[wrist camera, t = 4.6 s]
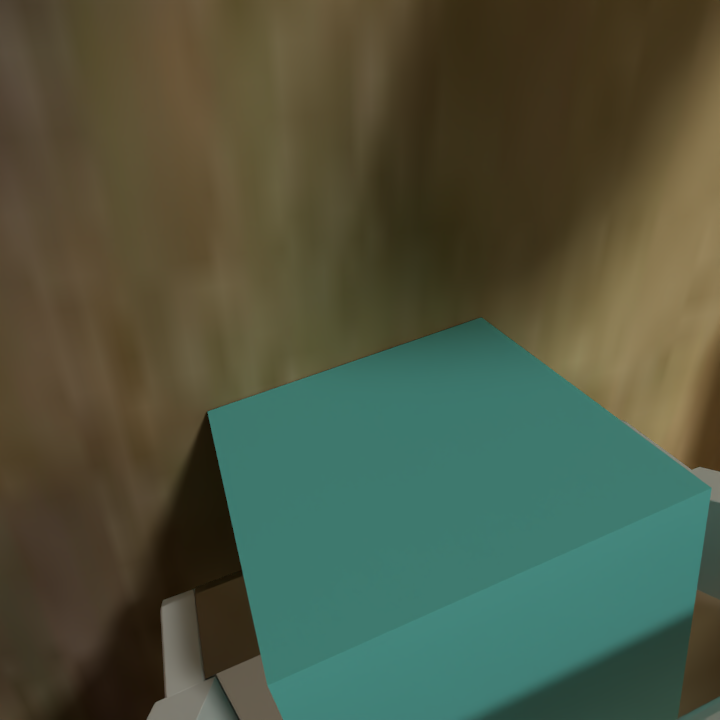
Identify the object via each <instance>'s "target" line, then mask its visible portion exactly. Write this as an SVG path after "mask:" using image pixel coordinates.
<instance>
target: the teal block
mask: <svg viewBox="0 0 720 720" xmlns="http://www.w3.org/2000/svg"><path fill="white" fill-rule="evenodd" d="M208 417H209V422H210V426H211V431H212V435H213V440H214V444H215V449H216V453H217V458H218V463H219V467H220V472H221V476H222V481H223V485H224V490H225V494H226V499H227V504H228V508H229V513H230V517H231V522H232V526H233V531H234V536H235V540H236V545H237V549H238V554H239V558H240V563H241V567H242V572H243V577H244V581H245V586H246V590H247V595H248V599H249V604H250V608H251V613H252V618H253V622H254V627H255V631H256V636H257V640H258V645H259V649H260V654H261V659H262V663H263V668H264V672H265V677H266V681H267V686H268V688H269V690H270V692H271V694H272V697H273V699H274V701H275V703H276V705H277V707H278V710H279V712H280V714H281V716H282V718H283V720H676V719H678V713H679V706H680V699H681V692H682V686H683V679H684V672H685V665H686V659H687V652H688V645H689V638H690V632H691V625H692V618H693V611H694V605H695V598H696V591H697V584H698V577H699V571H700V564H701V557H702V550H703V544H704V537H705V530H706V523H707V517H708V510H709V503H710V496H711V490H712V488H711V487H710V486H708V485H707V484H706V483H704V482H703V481H702V480H700V479H699V478H698V477H696V476H695V475H694V474H692V473H691V472H690V471H688V470H687V469H685V468H684V467H683V466H681V465H680V464H679V463H677V462H676V461H675V460H673V459H672V458H671V457H669V456H668V455H667V454H665V453H664V452H663V451H661V450H660V449H658V448H657V447H656V446H654V445H653V444H652V443H650V442H649V441H648V440H646V439H645V438H644V437H642V436H641V435H640V434H638V433H637V432H636V431H634V430H633V429H631V428H630V427H629V426H627V425H626V424H625V423H623V422H622V421H621V420H619V419H618V418H617V417H615V416H614V415H613V414H611V413H610V412H609V411H607V410H606V409H604V408H603V407H602V406H600V405H599V404H598V403H596V402H595V401H594V400H592V399H591V398H590V397H588V396H587V395H586V394H584V393H583V392H582V391H580V390H579V389H577V388H576V387H575V386H573V385H572V384H571V383H569V382H568V381H567V380H565V379H564V378H563V377H561V376H560V375H559V374H557V373H556V372H555V371H553V370H552V369H550V368H549V367H548V366H546V365H545V364H544V363H542V362H541V361H540V360H538V359H537V358H536V357H534V356H533V355H532V354H530V353H529V352H528V351H526V350H525V349H523V348H522V347H521V346H519V345H518V344H517V343H515V342H514V341H513V340H511V339H510V338H509V337H507V336H506V335H505V334H503V333H502V332H501V331H499V330H498V329H496V328H495V327H494V326H492V325H491V324H490V323H488V322H487V321H486V320H484V319H483V318H482V317H481V318H478V319H475V320H472V321H469V322H466V323H463V324H461V325H458V326H455V327H452V328H449V329H446V330H443V331H440V332H437V333H434V334H431V335H429V336H426V337H423V338H420V339H417V340H414V341H411V342H408V343H405V344H402V345H399V346H397V347H394V348H391V349H388V350H385V351H382V352H379V353H376V354H373V355H370V356H367V357H365V358H362V359H359V360H356V361H353V362H350V363H347V364H344V365H341V366H338V367H335V368H333V369H330V370H327V371H324V372H321V373H318V374H315V375H312V376H309V377H306V378H303V379H301V380H298V381H295V382H292V383H289V384H286V385H283V386H280V387H277V388H274V389H271V390H269V391H266V392H263V393H260V394H257V395H254V396H251V397H248V398H245V399H242V400H240V401H237V402H234V403H231V404H228V405H225V406H222V407H219V408H216V409H213V410H210V411H208Z"/></svg>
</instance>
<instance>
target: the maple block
mask: <svg viewBox="0 0 720 720" xmlns="http://www.w3.org/2000/svg"><path fill="white" fill-rule="evenodd" d="M719 696H720V600H719V599H717V598H714V597H712V596H710V595H708V594H706V593H703V592H701V591H699V590H697V591H696V598H695V605H694V611H693V618H692V625H691V632H690V638H689V645H688V652H687V659H686V665H685V672H684V679H683V686H682V692H681V699H680V706H679V713H678V718H680V717H682V716H683V715H685V714H687V713H689V712H691V711H693V710H695V709H697V708H699V707H700V706H702V705H704V704H706V703H708V702H710V701H712V700H714V699H716V698H717V697H719Z"/></svg>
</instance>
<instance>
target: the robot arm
mask: <svg viewBox="0 0 720 720" xmlns="http://www.w3.org/2000/svg"><path fill="white" fill-rule="evenodd" d="M619 420H620V419H619ZM621 421H622V422H623V423H625V424H626V425H627V426H629V427H630V428H631V429H633V430H634V431H636V432H637V433H638V434H640V435H641V436H642V437H644V438H645V439H646V440H648V441H649V442H650V443H652V444H653V445H654V446H656V447H657V448H658V449H660V450H661V451H663V452H664V453H665V454H667V455H668V456H669V457H671V458H672V459H673V460H675V461H676V462H677V463H679V464H680V465H681V466H683V467H684V468H685V469H687V470H688V471H690V472H691V473H692V474H694V475H695V476H696V477H698V478H699V479H700V480H702V481H703V482H704V483H706V484H707V485H708V486H710V487H711V488H712V490H711V496H710V503H709V510H708V517H707V523H706V530H705V537H704V544H703V550H702V557H701V564H700V571H699V577H698V584H697V590H699V591H701V592H703V593H706V594H708V595H710V596H712V597H714V598H717V599H719V600H720V472H719V471H715V470H711V469H706V468H702V467H698V468H695V469H692V470H691V469H690V468H689V467H687V466H686V465H685V464H683V463H682V462H680V461H679V460H678V459H676V458H675V457H674V456H672V455H671V454H669V453H668V452H667V451H665V450H664V449H663V448H661V447H660V446H658V445H657V444H656V443H654V442H653V441H652V440H650V439H649V438H647V437H646V436H645V435H643V434H642V433H640V432H639V431H638V430H636V429H635V428H634V427H632V426H631V425H629V424H628V423H627V422H625V421H623V420H621ZM160 614H161V632H162V651H163V670H164V689H165V698H164V699H162V700H159V701H157V702H155V703H154V705H153V707H152V709H151V711H150V713H149V715H148V717H147V719H146V720H283V718H282V716H281V714H280V712H279V710H278V707H277V705H276V703H275V701H274V699H273V697H272V694H271V692H270V690H269V688H268V686H267V681H266V677H265V672H264V668H263V663H262V659H261V654H260V649H259V645H258V640H257V636H256V631H255V627H254V622H253V618H252V613H251V608H250V604H249V599H248V595H247V590H246V586H245V581H244V577H243V572H242V570H241V571H238V572H235V573H232V574H230V575H227V576H224V577H222V578H219V579H216V580H214V581H211V582H208V583H206V584H203V585H200V586H198V587H196V588H194V589H192V590H189V591H186V592H184V593H181V594H178V595H175V596H173V597H170V598H167V599H165V600H163V601H162V605H161V609H160ZM676 720H720V696H719V697H717V698H716V699H714V700H712V701H710V702H708V703H706V704H704V705H702V706H700V707H699V708H697V709H695V710H693V711H691V712H689V713H687V714H685V715H683V716H682V717H680V718H678V719H676Z"/></svg>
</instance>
